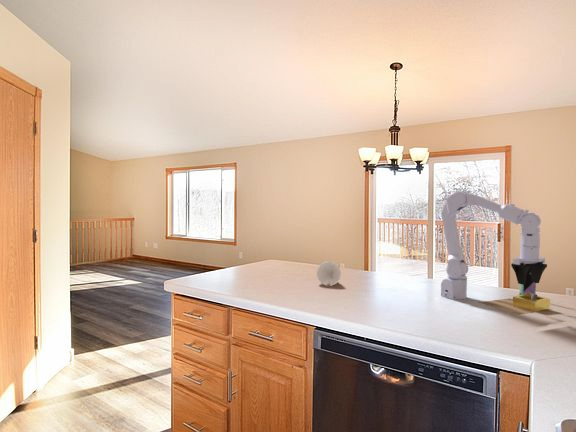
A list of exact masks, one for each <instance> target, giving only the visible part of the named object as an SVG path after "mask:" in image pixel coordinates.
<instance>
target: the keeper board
mask: <svg viewBox="0 0 576 432" xmlns="http://www.w3.org/2000/svg"><path fill="white" fill-rule="evenodd" d="M537 296H538V294H531V300H533V301H535V300H537ZM478 304H481V305H485V306H489V307H491V308H492V307H493V308H495V309H499V310H502V311H505V312H509V313H511V314H515V315H525V314H534V313H535V312H534V311H530V310H526V309H523V308H519V307H516V306H513V298H502V299H501V298H500V299H494V300H486V301H485V300H484V301H478ZM551 310H553V308H549V309H545V310H541V311H537V312H536V313H539V312H546V311H547V312H548V311H551Z"/></svg>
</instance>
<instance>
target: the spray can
mask: <svg viewBox="0 0 576 432" xmlns="http://www.w3.org/2000/svg"><path fill="white" fill-rule="evenodd" d="M524 265H525V266H529V264H524ZM536 288H537V283H534V282H532V280H531V270H530V268H529V270H528V272H527V276H526V282H525V285H523V284H519V291H518V292H519V294H518V295H522V294H527V293H528V294H536V292H537V290H536ZM536 295H537V294H536Z"/></svg>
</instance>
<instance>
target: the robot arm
mask: <svg viewBox="0 0 576 432" xmlns="http://www.w3.org/2000/svg"><path fill="white" fill-rule="evenodd" d="M468 206H478V207H481V208H483V209H487V210H489V211H492V212H493V213H494V212H495V213H497V214H498V216H499V218H501V219H502V220H505V221H508V222H510V223H513V224H516V225H520V226H521V233H520V242H519V243H520V245H519V246H520V251H519V257H515V258H513V259H512V263H511V265H510V266H511V268H512V270H513V271H514V273H515V277H516V281H517V284H519V285H520V284H523V285H525V282H526V276H527V272H528V270H529V268H530V270H531V280H532V282H534V283H536V284H539V283H540V280H541V278H542V275H543V272H544V271H545V270H546V269H547V268H548V264H547V263H546V257H540V243H541V242H540V241H541V234H540V232H541V229H540V225H541V222H542V220H541V218H540V216H539V215H538V214H536V213H534V212H530V211H529V209H522V208H520V207H516V205H515V204H513V203H510V204H509V203H505V204H503V205H501V204H499V203H497V202H494V201H492V200H489V199H487V198H485V197H482V196H480V195H476V194H474V193H473V194H472V193H468V192H464V191H459V190H456V191H454V192H452V193H450V194H449V195H448V196H447V198H446V200H445V204H444V206H443V208H442V211H441V219H442V226H443V230H444V231H443V233H444V236H445V242H446V243H445V244H446V249H447V266H446V269H445V271H446V274H447V277H446V278H445V279H443V280H442V281H441V282H440V297H442V298H445V299H449V300H452V301H454V300H466V299H467V295H468V294H467V291H468V289H467V287H468V276H466V275H467V273H468V272H469V266H468V264H467V263H466V259H465V257H464V254H463V252H462V248H461V247H462V246H461V242H460V236H459V231H458V230H459V229H458V223H457V219H456V215H457V214H458V213H459V212H460V211H461V210H463V209H465V208H466V207H468ZM524 264H529V266H525V265H524Z"/></svg>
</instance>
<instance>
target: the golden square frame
mask: <svg viewBox="0 0 576 432" xmlns="http://www.w3.org/2000/svg"><path fill="white" fill-rule="evenodd" d="M512 299H513V306H516V307H519V308H523V309H526V310H530V311H534V313H538V312H537V311H541V310H545V309H551V303H550V302H551V299H550V298H548V297H545V296H540V295H537V300H535V301H533V300H531V294H528V293H527V294H522V295H519V294H518V295H514V296H512ZM541 312H542V311H541Z"/></svg>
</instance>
